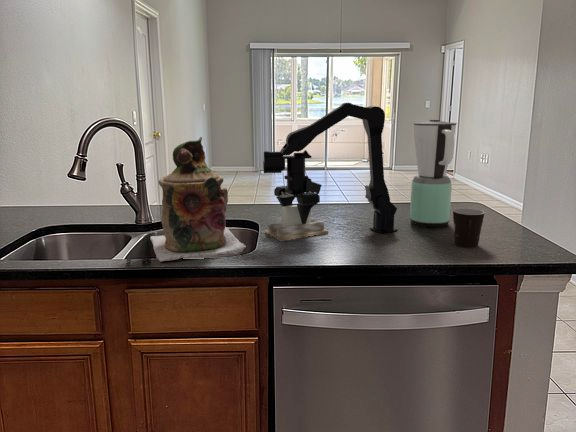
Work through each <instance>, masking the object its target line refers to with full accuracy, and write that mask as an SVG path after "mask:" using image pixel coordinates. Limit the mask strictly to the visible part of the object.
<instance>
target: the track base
mask: <svg viewBox="0 0 576 432" xmlns="http://www.w3.org/2000/svg"><path fill="white" fill-rule="evenodd" d="M315 220H316V218H315V217H311V223H306V224H299V225H293V226H286V227H282V221H281V222H274V223H268V224H267V229H264V234H265V233H267V234H266V235H268V234H270V235H271V236H270V235H269V236H270V237H272V236H273V237H272V238H274V237H275V238H274V239H276V238H278V239H279V240H278V239H277V240H278V241H280V240H282V241H281V242H285V241H284V240H287V241H290V240H289V239H293V240H297V239H296V238H298V239H303V238H302V237H304V238H309V237H308V236H310V237H315V236H314V235H316V236H321V235H326V234H327V235H328V234H329V230H327V229H326V228H325V221H324V220H320V221H315Z"/></svg>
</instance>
